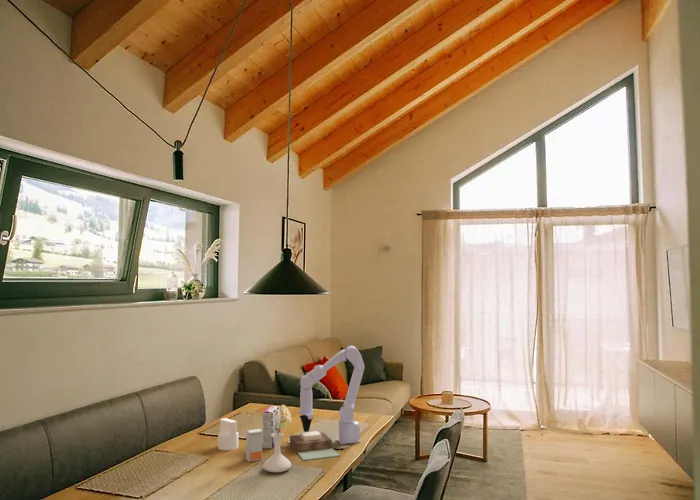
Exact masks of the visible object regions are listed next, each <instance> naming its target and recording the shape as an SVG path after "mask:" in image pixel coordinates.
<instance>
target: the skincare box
mask: <svg viewBox="0 0 700 500" xmlns="http://www.w3.org/2000/svg"><path fill="white" fill-rule="evenodd" d="M245 436H246V437H245V440H246V441H245V442H246V444H245V460H247V462H249V463H250V462H256V461H263V429H261V428H257V429H249V430H246V435H245Z"/></svg>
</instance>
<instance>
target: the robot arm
mask: <svg viewBox="0 0 700 500" xmlns="http://www.w3.org/2000/svg"><path fill="white" fill-rule="evenodd" d="M347 360H348V361H349V362H350V363H351V364H352V366H353V367H354V368H353V371H352V375H351V378H350V381H349V385H348V387H347V388H348V389H347V393H346V396H345V399H344V401H343V404H342V406H341V407H340V409H339V411H338V412H339V420H338V438H335V440H336V441H337V442H338V443H339V444H341V445H347V443H348V444H354V443H360V442H361V438H360V437H361V435H360V434H361V433H360V431H361V430H360V423H359V422H358V421H357V420H355V419H354V417H355V415H354V409H355V404H356V400H357V397H358V394H359V393H358V392H359V389H360V386H361V382H362V379H363V375H364V371H365V363H364V360H363V357H362V354H361V353H360V351H359V350H358V348H357V347H356V346H354V345H352V344H351V345H348V346H346V347H345V348H344V349H341V350H340V351H339V352H337V353H336V354H334V355H333V356H332V357H331V358H330V359H329V360H327V361H326V362H325V363H324V364H323V365H321V364H317V365H315V366H314V367H313V369H312V370H310V371H309V372H308V371H307V372H306V373H305V375H304V374H303V376H301V378H300V380H299V381H300V382H299V385H300V392H299V396H300V399H299V400H300V401H299V403H300V404H299V407H300V408H299V410H298V411H297V414H298V415H299V418H300V421H301V423H302V425H301V426H302V430H303V433H304V432H310V429H311V423H312V421H313V419H314V411H313V389H312V388H313V386H314V385H313V384H316V383H317V382H319V381H320V380H321V379H322V378H324V377H325V376H326V375H327V371H329V370H330V369H332V368H333V367H334V366H336V365H337V364H339V363H340V362H347Z"/></svg>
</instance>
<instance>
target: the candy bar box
mask: <svg viewBox="0 0 700 500" xmlns="http://www.w3.org/2000/svg"><path fill="white" fill-rule="evenodd" d="M280 421H281V406H280V405H275V406H274V405H271V406H269V407H268V408H267V409H265V410H264V411H262V431H263V443H262V449H267V450H270V449H271V450H272V449H273V450H274V449H275V445H274V440H273V437H272V436H271V434H274V433H278V431H275V430H274V429H275V427H277V428H279V424H281V423H280ZM279 433H281V429H280V430H279Z"/></svg>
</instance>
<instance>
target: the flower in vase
mask: <svg viewBox="0 0 700 500" xmlns="http://www.w3.org/2000/svg"><path fill="white" fill-rule="evenodd" d="M280 413H281V415H282V416H281V417H280V424H279V428H277V427H275V429H274V430H275V431H278V433H274V434H271V436H272V437H273V440H274V445H275V447H274V449H273V451H274V452H273V453H272V455H271V456H270V457H268V459H266V460H265V461H264V463H263V465H262V469H263V470H264V471H267V472H269V473H283V472H286V471H288V470H290V469H291V467H292V462H291V461H290V460H289V459H288V458H287V457H285V456H284V455H283V454H282V453H281V444H282V443H281V442H282V440H283V439H282V438H283V437H284V436H285V434H284V433H283V432H280V433H279V430H280V431H281V430H284V429H285V428H286V424H285V423H284V422H282V421H283V419H284V421H285V422H286V423H287V424H290V423H292V421H293V419H292V413H291V412H290V411H289V408H288V407H286V405H285V404H281V406H280Z"/></svg>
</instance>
